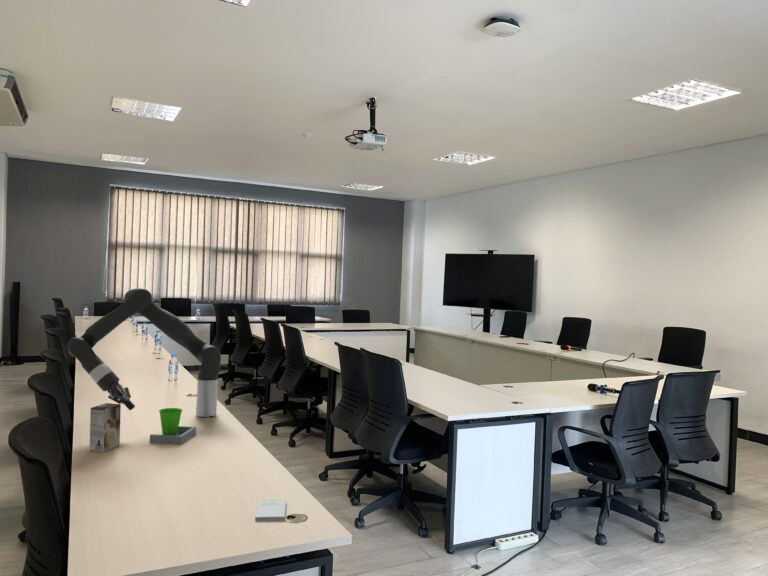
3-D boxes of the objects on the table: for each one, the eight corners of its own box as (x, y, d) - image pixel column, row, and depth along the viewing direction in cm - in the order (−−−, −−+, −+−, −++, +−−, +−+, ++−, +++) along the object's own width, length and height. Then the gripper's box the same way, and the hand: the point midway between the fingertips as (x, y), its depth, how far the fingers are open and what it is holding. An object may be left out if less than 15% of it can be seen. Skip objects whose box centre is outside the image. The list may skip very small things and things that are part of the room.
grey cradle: (166, 432, 243) (166, 425, 243) (195, 434, 242) (196, 426, 242) (149, 442, 228) (150, 434, 228) (181, 444, 227) (181, 436, 227)
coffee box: (105, 444, 223) (106, 402, 223) (120, 445, 222) (121, 403, 222) (88, 450, 214) (90, 407, 214) (103, 452, 213) (105, 408, 213)
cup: (184, 434, 241) (185, 408, 240) (176, 440, 232) (177, 413, 231) (162, 433, 241) (164, 407, 241) (154, 439, 232) (155, 412, 231)
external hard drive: (254, 522, 160) (258, 505, 172) (284, 522, 161) (286, 504, 174) (255, 517, 160) (258, 499, 172) (285, 516, 161) (286, 499, 174)
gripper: (102, 373, 229) (131, 406, 229) (119, 368, 242) (146, 399, 242) (88, 386, 230) (118, 418, 229) (106, 380, 243) (133, 411, 242)
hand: (132, 408), depth 236 cm, fingers closed
